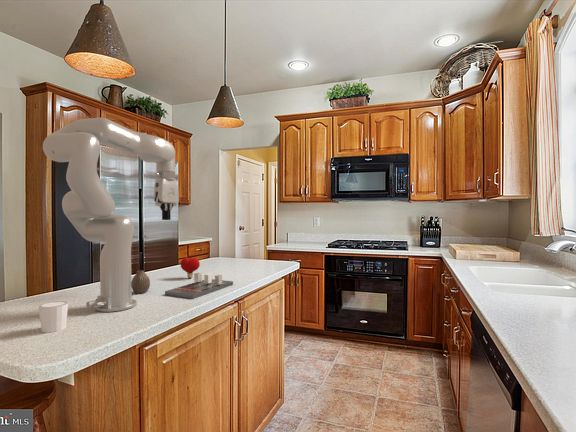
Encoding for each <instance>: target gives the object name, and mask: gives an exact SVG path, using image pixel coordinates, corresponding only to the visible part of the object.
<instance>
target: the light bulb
mask: <svg viewBox="0 0 576 432" xmlns="http://www.w3.org/2000/svg"><path fill="white" fill-rule="evenodd" d="M200 267H201V262H200V260H199V259H198V258H197V257H193V258H190V257H184V258H183V259H181V261H180V268H181V269H182V270H183V271H184V272H186V273H187V278H188V279H192V278H194V273H195V271H197V270H198V269H199V268H200Z"/></svg>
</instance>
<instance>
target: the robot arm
mask: <svg viewBox="0 0 576 432" xmlns="http://www.w3.org/2000/svg"><path fill="white" fill-rule="evenodd" d="M101 146H105V147H107V148H110V149H113V150H116V151H118V152H120V153H124V154H127V155H128V154H129V155H137V156H138V157H139V158H140V160H141V161H143V162H145V163H155V166H156V168H155V169H156V172H155V173H154V175H155V176H156V179H155V180H154V187H153V200H154V202H155V203H154V205H155V206H156V207H159V208H160V211H161V220H162V221H170V220H171V219H172V218H171V217H172V216H171V215H172V214H171V211H172V209H173V208H174V207H176V206H177V204H178V203H179V202H180V196H179V186H178V181H177V179H176V149H175V147H174V145H173V144H172V143H171V142H170V141H168V140H166V139H164V138H162V137H159V136H157V135H151V134H148V133H144V132H140V131H135V130H132V129H129V127H125V126H124V125H121V124H119V123H117V122H115V121H113V120H110V119H109V118H105V117H92V118H91V117H90V118H89V117H88V118H81V119H77V120H75V121H73V122H71V123H69V124H67V125H64V126H63V127H61V128H59V129H57V130H56V131H54V132H52V133H50V134H49V135H48V136H46V137H45V139H44V140H43V142H42V150H43V153H44V155H45V156H46V157H47V158H48V159H49V160H51V161H53V162H57V163H68V164H67V169H66V175H65V179H66V182H67V185H68V187H69V188H70V191H68V192H66V193H65V194H64V196H63V197H62V201H61V206H62V208H61V209H62V211H63V214H64V216H65V217H66V218H67V219H68V220H69V222H70V223H71V224H72V226H73V227H74V229H76V231H77V232H78V233H79V234H80V236H81V237H82V238H83V239H85V240H86V241H88V242H91V243H104V245H103V247H102V249H101V251H100V254H99V268H100V269H99V274H100V275H99V277H100V278H99V280H100V281H99V284H100V285H99V290H100V291H99V292H100V295H97V298H95V299H94V300H91V301H90V300H89V301H87V302H86V303H85V304H86V308H88V309H89V308H93V307H95V308H94V309H95V311H97V312H100V313H101V312H103V313H104V312H105V313H110V312H121V311H125V310H129V309H132V308H133V307H136V306H137V303H138V302H137V300H136V299H133V298H132V296H133V294H132V291H133V290H132V283H131V282H132V246H133V245H132V244H133V239H134V234H135V225H134V221H133V220H132V219H131V218H130V217H129V216H126V215H123V214H114V213H115V210H116V204H115V201H114V199H113V197H112V195H111V194H110V193H109V191H108V189H107V188H106V185H105V184H104V183H103V182H102V180H101V178H100V177H99V174H98V170H97V169H98V168H97V166H98V161H99V157H100V153H101Z"/></svg>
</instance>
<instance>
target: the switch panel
mask: <svg viewBox="0 0 576 432" xmlns="http://www.w3.org/2000/svg"><path fill="white" fill-rule="evenodd" d="M202 279H203V278H202V272H196V273H195V272H194V273H193V282H191V283H189V284H186V285H182V286H178V287H175V288H171V289H167V290H165V291H164V296H170V297H175V298H183V299H192V300H193V299H197V298H199V297H203V296H205V295H208V294H211V293H215V292H217V291H219V290H223V289H225V288H228V287H231V286H233V285H234V281H232V280H223V275H222V274H216V275H214V278H212V282H211V283H204V279H203V280H202Z"/></svg>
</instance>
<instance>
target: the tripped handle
mask: <svg viewBox="0 0 576 432" xmlns="http://www.w3.org/2000/svg"><path fill="white" fill-rule="evenodd" d="M212 279H213V274H212V273H206V274H204V279H203V280H204V283H211V282H212Z"/></svg>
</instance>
